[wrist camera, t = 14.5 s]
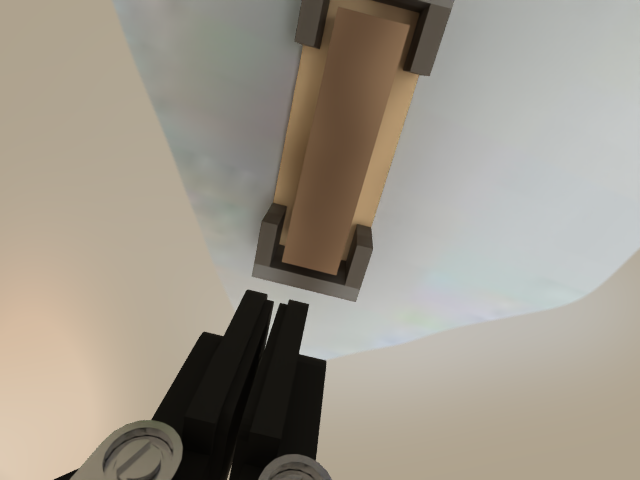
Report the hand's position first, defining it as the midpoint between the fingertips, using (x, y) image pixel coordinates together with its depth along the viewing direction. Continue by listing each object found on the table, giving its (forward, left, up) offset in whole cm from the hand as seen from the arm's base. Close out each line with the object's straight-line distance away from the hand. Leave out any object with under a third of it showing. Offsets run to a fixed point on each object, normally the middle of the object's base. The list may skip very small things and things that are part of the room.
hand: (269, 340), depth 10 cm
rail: (-1, -2, -18) cm, 18 cm away
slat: (-1, -2, -17) cm, 17 cm away
